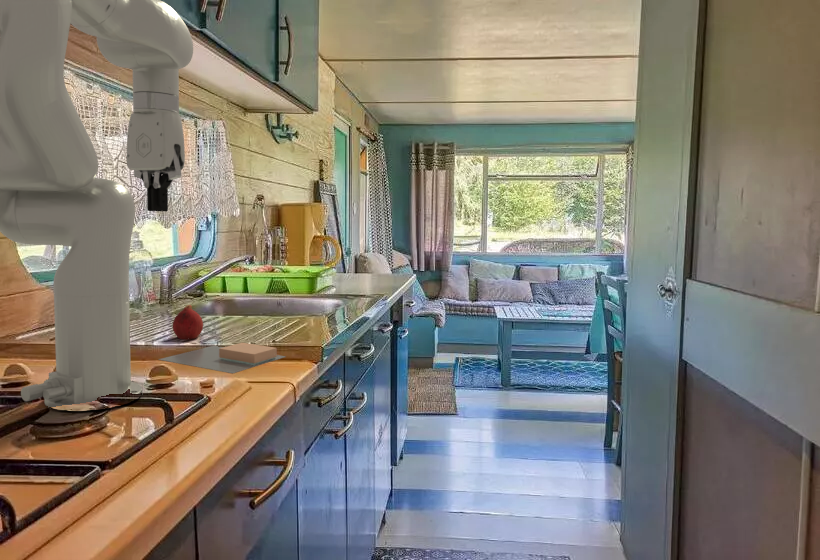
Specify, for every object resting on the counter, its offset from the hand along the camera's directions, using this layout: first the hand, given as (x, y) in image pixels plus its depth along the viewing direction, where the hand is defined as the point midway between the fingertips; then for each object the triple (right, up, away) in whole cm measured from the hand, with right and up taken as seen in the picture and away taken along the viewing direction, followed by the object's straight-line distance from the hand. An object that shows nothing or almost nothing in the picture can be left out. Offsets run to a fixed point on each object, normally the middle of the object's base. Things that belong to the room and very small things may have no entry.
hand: (157, 211), depth 112 cm
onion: (0, -26, +16) cm, 30 cm away
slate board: (+12, -28, 0) cm, 30 cm away
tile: (+13, -25, +2) cm, 28 cm away
